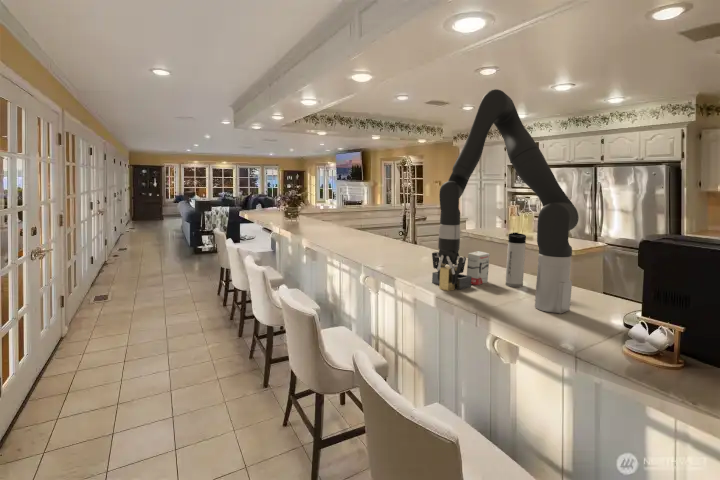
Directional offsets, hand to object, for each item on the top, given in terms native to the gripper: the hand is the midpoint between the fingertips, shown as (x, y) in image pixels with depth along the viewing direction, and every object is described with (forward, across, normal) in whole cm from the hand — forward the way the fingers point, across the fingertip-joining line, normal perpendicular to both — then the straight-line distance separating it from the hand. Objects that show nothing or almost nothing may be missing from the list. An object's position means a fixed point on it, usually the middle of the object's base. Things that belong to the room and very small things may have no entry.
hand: (447, 282), depth 151 cm
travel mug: (+3, -12, -25) cm, 28 cm away
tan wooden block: (+3, 0, 0) cm, 3 cm away
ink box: (+3, -1, -17) cm, 17 cm away
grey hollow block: (+2, +3, -6) cm, 7 cm away
